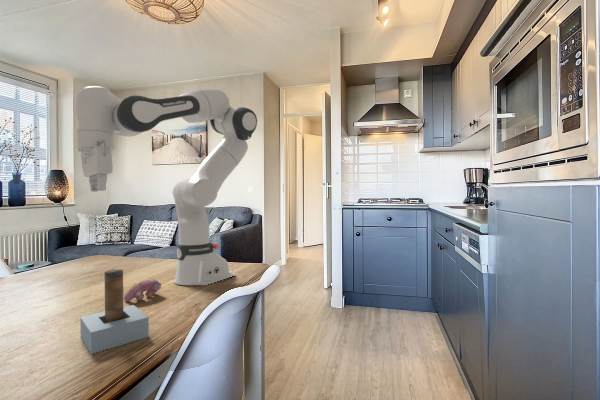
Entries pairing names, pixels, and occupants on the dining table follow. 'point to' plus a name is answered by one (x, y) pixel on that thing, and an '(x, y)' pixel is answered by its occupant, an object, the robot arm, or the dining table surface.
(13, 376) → the dining table surface
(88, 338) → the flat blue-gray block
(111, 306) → the walnut dowel
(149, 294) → the video game controller
